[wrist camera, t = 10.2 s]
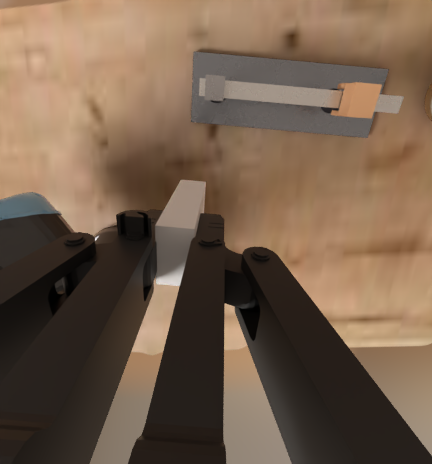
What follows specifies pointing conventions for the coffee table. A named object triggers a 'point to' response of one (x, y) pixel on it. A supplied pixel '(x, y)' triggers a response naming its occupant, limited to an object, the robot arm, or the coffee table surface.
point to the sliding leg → (358, 99)
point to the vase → (429, 102)
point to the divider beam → (284, 94)
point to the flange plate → (285, 75)
